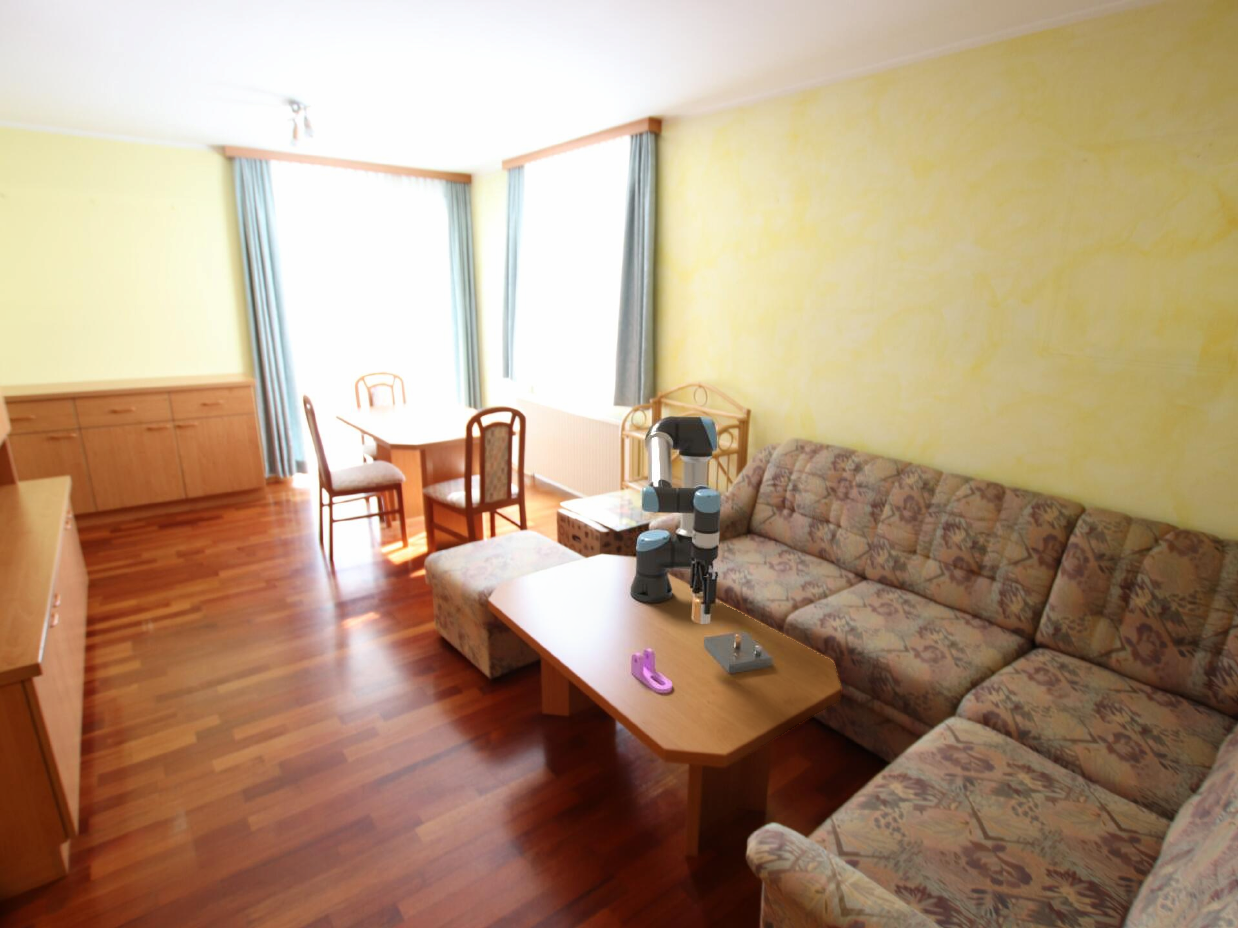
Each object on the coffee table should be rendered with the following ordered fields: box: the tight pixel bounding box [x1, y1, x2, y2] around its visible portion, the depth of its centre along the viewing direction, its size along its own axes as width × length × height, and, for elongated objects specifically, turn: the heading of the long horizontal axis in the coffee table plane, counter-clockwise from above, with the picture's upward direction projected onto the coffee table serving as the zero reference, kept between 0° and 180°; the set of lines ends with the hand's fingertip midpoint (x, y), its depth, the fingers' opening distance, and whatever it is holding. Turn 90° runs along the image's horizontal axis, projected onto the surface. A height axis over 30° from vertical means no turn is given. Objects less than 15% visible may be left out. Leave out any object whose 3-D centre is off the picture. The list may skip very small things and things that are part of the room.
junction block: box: [703, 630, 773, 675], centre depth 193 cm, size 16×14×7 cm
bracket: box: [630, 647, 673, 694], centre depth 180 cm, size 13×6×7 cm, turn 36°
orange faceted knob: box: [690, 596, 703, 624], centre depth 189 cm, size 5×5×6 cm
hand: (700, 618), depth 190 cm, fingers closed on orange faceted knob, 5 cm apart
